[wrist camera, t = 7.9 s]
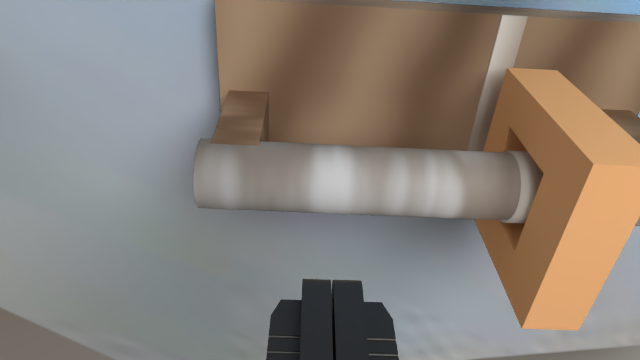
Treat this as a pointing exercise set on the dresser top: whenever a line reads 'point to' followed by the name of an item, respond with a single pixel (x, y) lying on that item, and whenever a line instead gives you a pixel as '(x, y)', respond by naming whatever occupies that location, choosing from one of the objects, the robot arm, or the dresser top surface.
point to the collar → (561, 198)
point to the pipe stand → (393, 103)
